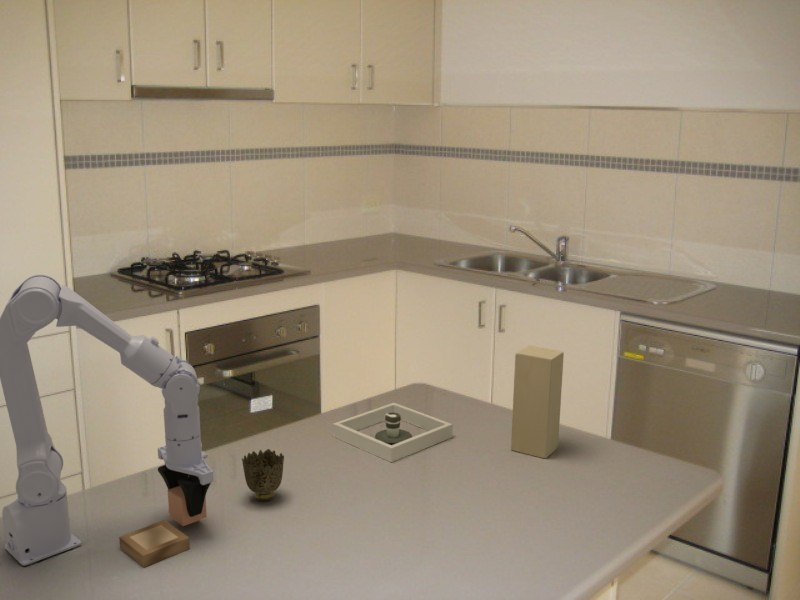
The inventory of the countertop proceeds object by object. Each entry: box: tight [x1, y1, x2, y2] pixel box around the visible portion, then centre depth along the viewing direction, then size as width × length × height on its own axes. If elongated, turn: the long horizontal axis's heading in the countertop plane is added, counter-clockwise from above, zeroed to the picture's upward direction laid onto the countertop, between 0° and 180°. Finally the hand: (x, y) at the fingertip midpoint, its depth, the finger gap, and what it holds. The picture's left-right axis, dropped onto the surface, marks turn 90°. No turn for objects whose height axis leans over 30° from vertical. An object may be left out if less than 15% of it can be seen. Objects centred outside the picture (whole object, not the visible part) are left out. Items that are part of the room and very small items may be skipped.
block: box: [167, 486, 207, 527], centre depth 144 cm, size 4×4×5 cm
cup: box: [241, 448, 285, 502], centre depth 153 cm, size 8×7×8 cm
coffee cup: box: [375, 413, 412, 444], centre depth 181 cm, size 12×12×5 cm
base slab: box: [118, 520, 191, 568], centre depth 137 cm, size 8×8×2 cm
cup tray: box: [332, 402, 454, 463], centre depth 181 cm, size 18×18×3 cm
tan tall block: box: [510, 345, 565, 459], centre depth 173 cm, size 8×7×21 cm
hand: (187, 509), depth 144 cm, fingers closed on block, 4 cm apart
